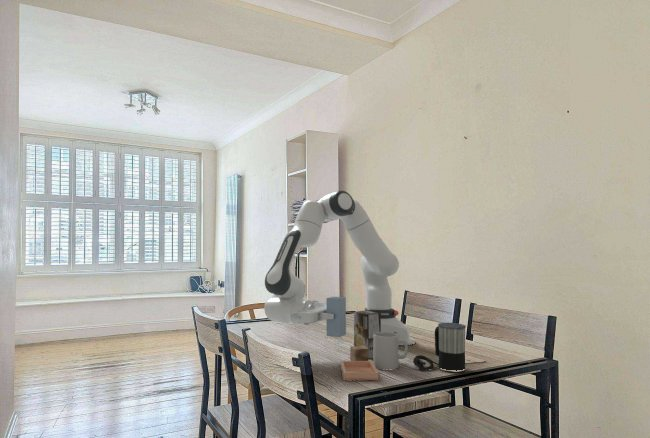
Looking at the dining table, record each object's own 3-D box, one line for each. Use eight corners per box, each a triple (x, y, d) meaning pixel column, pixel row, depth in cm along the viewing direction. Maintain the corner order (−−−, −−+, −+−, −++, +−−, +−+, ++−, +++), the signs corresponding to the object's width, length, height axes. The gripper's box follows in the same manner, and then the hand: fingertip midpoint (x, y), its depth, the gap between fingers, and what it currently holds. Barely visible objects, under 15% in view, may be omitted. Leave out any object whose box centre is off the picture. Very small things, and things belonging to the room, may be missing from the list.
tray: (372, 368, 150) (372, 360, 150) (378, 380, 136) (378, 372, 136) (340, 368, 149) (340, 360, 150) (343, 380, 136) (343, 372, 136)
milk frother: (472, 370, 149) (471, 325, 150) (440, 378, 140) (439, 330, 141) (439, 361, 161) (439, 319, 161) (407, 367, 152) (407, 323, 153)
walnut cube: (363, 359, 162) (363, 345, 162) (368, 363, 157) (368, 348, 157) (350, 360, 160) (350, 346, 161) (355, 364, 156) (355, 349, 156)
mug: (376, 370, 147) (376, 337, 148) (370, 363, 156) (370, 332, 156) (411, 370, 149) (411, 336, 149) (404, 363, 157) (404, 331, 158)
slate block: (333, 333, 159) (332, 296, 159) (345, 334, 156) (345, 297, 157) (326, 335, 154) (326, 298, 155) (339, 337, 152) (339, 298, 152)
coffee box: (381, 356, 166) (381, 313, 167) (368, 359, 162) (368, 314, 163) (365, 351, 173) (365, 310, 174) (352, 353, 170) (353, 311, 171)
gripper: (288, 307, 153) (324, 310, 146) (317, 300, 171) (350, 302, 164) (288, 326, 152) (324, 329, 146) (317, 316, 170) (350, 319, 164)
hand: (338, 315), depth 155 cm, fingers closed on slate block, 5 cm apart
